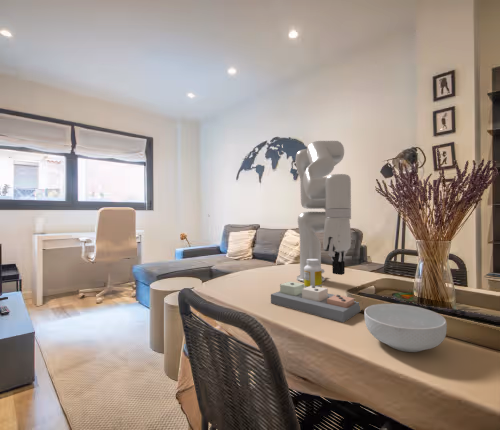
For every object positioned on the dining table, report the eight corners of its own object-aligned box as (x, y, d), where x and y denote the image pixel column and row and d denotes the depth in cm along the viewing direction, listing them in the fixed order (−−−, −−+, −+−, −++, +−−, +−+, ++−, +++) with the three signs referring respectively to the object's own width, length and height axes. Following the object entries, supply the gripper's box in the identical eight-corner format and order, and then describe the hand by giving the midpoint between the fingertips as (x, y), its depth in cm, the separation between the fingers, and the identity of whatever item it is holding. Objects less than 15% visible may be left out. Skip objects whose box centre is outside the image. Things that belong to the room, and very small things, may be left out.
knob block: (290, 292, 103) (290, 280, 103) (304, 295, 99) (304, 283, 99) (280, 295, 98) (280, 283, 98) (294, 299, 94) (294, 286, 94)
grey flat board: (294, 294, 106) (294, 286, 106) (362, 309, 88) (362, 300, 88) (270, 302, 96) (270, 294, 96) (343, 322, 78) (343, 311, 78)
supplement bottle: (322, 291, 111) (322, 258, 111) (321, 295, 104) (320, 261, 104) (305, 289, 113) (305, 257, 113) (303, 294, 107) (302, 260, 107)
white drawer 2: (311, 297, 97) (311, 284, 97) (327, 300, 92) (327, 287, 92) (302, 301, 92) (302, 288, 92) (318, 304, 88) (318, 291, 88)
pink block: (336, 307, 90) (336, 293, 90) (354, 311, 86) (354, 297, 86) (327, 311, 86) (327, 297, 86) (345, 316, 82) (345, 301, 82)
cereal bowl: (384, 324, 77) (384, 298, 77) (457, 346, 64) (457, 315, 64) (350, 342, 66) (350, 312, 66) (429, 372, 53) (429, 335, 53)
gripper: (337, 214, 95) (337, 268, 95) (315, 214, 84) (315, 276, 84) (359, 214, 89) (360, 271, 90) (338, 214, 79) (339, 280, 79)
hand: (338, 273), depth 87 cm, fingers closed
